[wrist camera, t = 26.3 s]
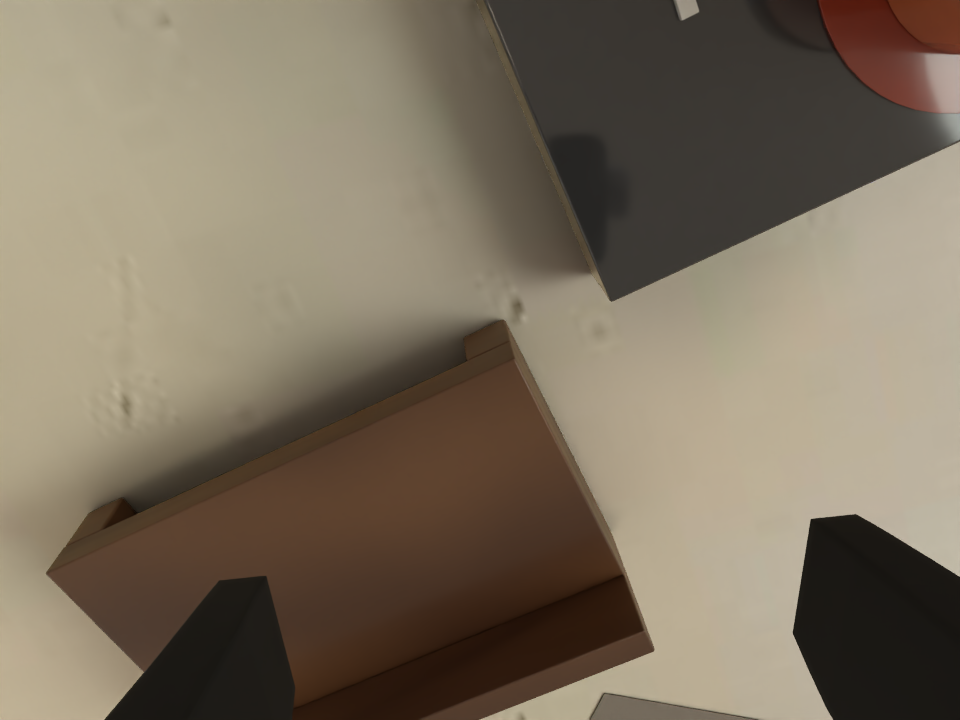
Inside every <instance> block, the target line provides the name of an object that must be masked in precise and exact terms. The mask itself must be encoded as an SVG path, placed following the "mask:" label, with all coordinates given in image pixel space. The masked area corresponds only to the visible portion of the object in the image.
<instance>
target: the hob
mask: <svg viewBox="0 0 960 720" xmlns="http://www.w3.org/2000/svg"><path fill="white" fill-rule="evenodd" d="M476 3H477V5H478V7H479V10H480V12H481V15H482V17H483V19H484V22H485V24H486V26H487V29H488V31H489V33H490V36H491V38H492V40H493V43H494V45H495V47H496V50H497V52H498V55H499V57H500V59H501V62H502V64H503V66H504V69H505V71H506V73H507V76H508V78H509V80H510V83H511V85H512V87H513V90H514V92H515V94H516V97H517V99H518V102H519V104H520V106H521V109H522V111H523V113H524V116H525V118H526V120H527V123H528V125H529V127H530V130H531V132H532V134H533V137H534V139H535V141H536V144H537V146H538V149H539V151H540V153H541V156H542V158H543V160H544V163H545V165H546V167H547V170H548V172H549V174H550V177H551V179H552V181H553V184H554V186H555V188H556V191H557V193H558V196H559V198H560V200H561V203H562V205H563V207H564V210H565V212H566V214H567V217H568V219H569V221H570V224H571V226H572V228H573V231H574V233H575V235H576V238H577V240H578V243H579V245H580V247H581V250H582V252H583V254H584V257H585V259H586V261H587V264H588V266H589V268H590V271H591V273H592V275H593V277H594V278H595V280H596V281H597V282H598V284H599V285H600V287H601V288H602V290H603V291H604V293H605V294H606V296H607V297H608V299H609V300H610V301H611V302H612V301H615V300H617V299H619V298H621V297H624V296H626V295H628V294H630V293H632V292H634V291H637V290H639V289H641V288H643V287H645V286H647V285H650V284H652V283H654V282H656V281H658V280H660V279H663V278H665V277H667V276H669V275H671V274H674V273H676V272H678V271H680V270H682V269H684V268H687V267H689V266H691V265H693V264H695V263H697V262H700V261H702V260H704V259H706V258H708V257H710V256H713V255H715V254H717V253H719V252H721V251H723V250H726V249H728V248H730V247H732V246H734V245H736V244H739V243H741V242H743V241H745V240H747V239H749V238H752V237H754V236H756V235H758V234H760V233H762V232H765V231H767V230H769V229H771V228H773V227H775V226H778V225H780V224H782V223H784V222H786V221H788V220H791V219H793V218H795V217H797V216H799V215H801V214H804V213H806V212H808V211H810V210H812V209H814V208H817V207H819V206H821V205H823V204H825V203H827V202H830V201H832V200H834V199H836V198H838V197H841V196H843V195H845V194H847V193H849V192H851V191H854V190H856V189H858V188H860V187H862V186H864V185H867V184H869V183H871V182H873V181H875V180H877V179H880V178H882V177H884V176H886V175H888V174H890V173H893V172H895V171H897V170H899V169H901V168H903V167H906V166H908V165H910V164H912V163H914V162H916V161H919V160H921V159H923V158H925V157H927V156H929V155H932V154H934V153H936V152H938V151H940V150H942V149H945V148H947V147H949V146H951V145H953V144H955V143H958V142H960V113H958V114H955V113H931V112H925V111H919V110H913V109H910V108H907V107H904V106H901V105H898V104H895V103H893V102H891V101H889V100H887V99H885V98H883V97H881V96H880V95H878V94H876V93H875V92H873V91H872V90H871V89H870V88H868V87H867V86H866V85H864V84H863V83H862V82H860V80H859V79H858V78H857V77H856V76H855V75H854V74H853V73H852V72H851V71H850V70H849V69H848V68H847V66H846V65H845V64H844V62H843V61H842V59H841V58H840V56H839V55H838V53H837V52H836V50H835V49H834V47H833V44H832V42H831V40H830V38H829V36H828V34H827V32H826V29H825V27H824V24H823V21H822V17H821V14H820V11H819V7H818V4H817V0H476Z"/></svg>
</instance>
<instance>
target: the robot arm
mask: <svg viewBox="0 0 960 720" xmlns="http://www.w3.org/2000/svg"><path fill="white" fill-rule="evenodd" d="M793 635H794V637H795V639H796V642H797V644H798V646H799V649H800V651H801V653H802V655H803V658H804V660H805V662H806V665H807V667H808V669H809V672H810V674H811V676H812V678H813V680H814V682H815V685H816V687H817V689H818V691H819V693H820V695H821V697H822V699H823V702H824V704H825V706H826V708H827V710H828V711H829V713H830V715H831V717H832V718H833V720H960V577H959V576H957V575H956V574H954V573H953V572H951V571H949V570H948V569H946V568H944V567H943V566H941V565H940V564H938V563H936V562H935V561H933V560H932V559H930V558H928V557H927V556H925V555H924V554H922V553H920V552H919V551H917V550H915V549H914V548H912V547H911V546H909V545H907V544H906V543H904V542H902V541H901V540H899V539H898V538H896V537H894V536H893V535H891V534H889V533H888V532H886V531H884V530H883V529H881V528H879V527H877V526H876V525H874V524H872V523H871V522H869V521H867V520H865V519H863V518H862V517H860V516H858V515H856V514H854V515H844V516H835V517H825V518H816V519H811V521H810V528H809V534H808V540H807V547H806V553H805V559H804V566H803V572H802V578H801V584H800V591H799V597H798V603H797V610H796V616H795V622H794V629H793ZM294 696H295V684H294V680H293V676H292V672H291V669H290V665H289V661H288V657H287V653H286V649H285V646H284V642H283V638H282V634H281V630H280V626H279V623H278V619H277V615H276V611H275V607H274V603H273V599H272V596H271V592H270V588H269V584H268V580H267V576H257V577H247V578H238V579H228V580H219V581H218V582H217V584H216V585H215V586H214V587H213V588H212V589H211V590H210V592H209V593H208V594H207V595H206V597H205V598H204V599H203V600H202V601H201V603H200V604H199V605H198V606H197V607H196V609H195V610H194V611H193V612H192V614H191V615H190V616H189V617H188V619H187V620H186V621H185V622H184V624H183V625H182V626H181V627H180V629H179V630H178V631H177V632H176V634H175V635H174V636H173V637H172V639H171V640H170V641H169V642H168V644H167V645H166V646H165V647H164V649H163V650H162V651H161V652H160V654H159V655H158V656H157V657H156V658H155V660H154V661H153V662H152V663H151V665H150V666H149V667H148V668H147V670H146V671H145V672H144V673H143V674H142V676H141V677H140V678H139V679H138V680H137V682H136V683H135V684H134V685H133V686H132V688H131V689H130V690H129V691H128V692H127V694H126V695H125V696H124V697H123V698H122V699H121V701H120V702H119V703H118V704H117V705H116V707H115V708H114V709H113V710H112V711H111V713H110V714H109V715H108V716H107V717H106V718H105V720H292V715H293V705H294Z"/></svg>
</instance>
